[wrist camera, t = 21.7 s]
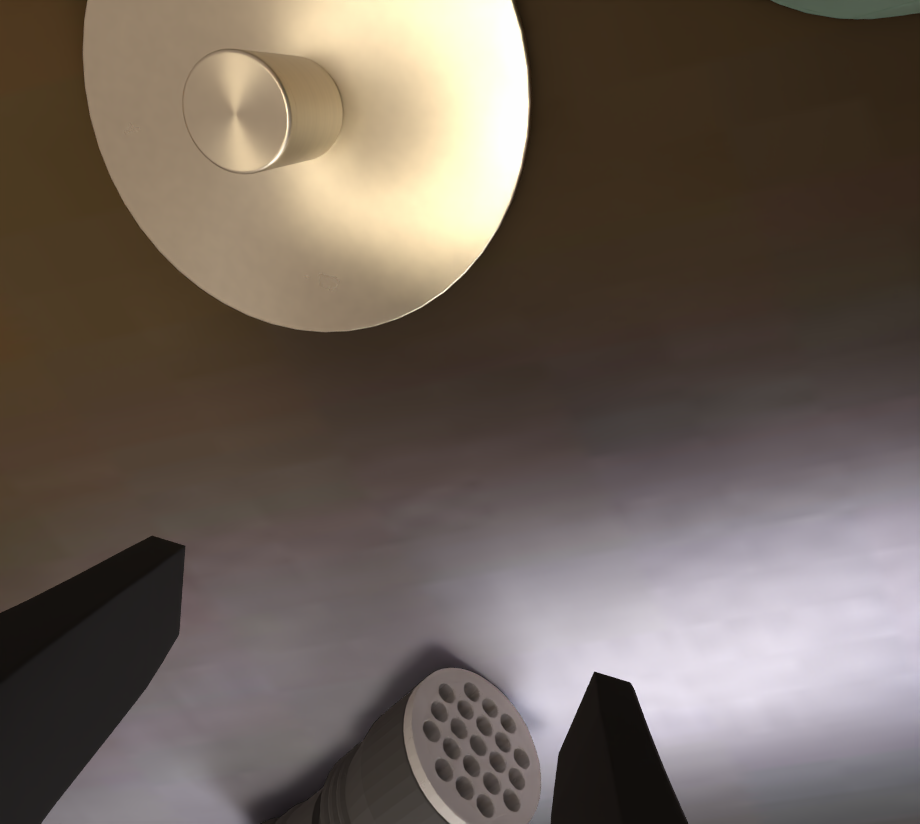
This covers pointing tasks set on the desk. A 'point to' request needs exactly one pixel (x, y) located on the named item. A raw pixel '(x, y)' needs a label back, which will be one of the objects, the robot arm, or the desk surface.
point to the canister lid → (313, 144)
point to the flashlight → (434, 762)
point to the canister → (854, 8)
